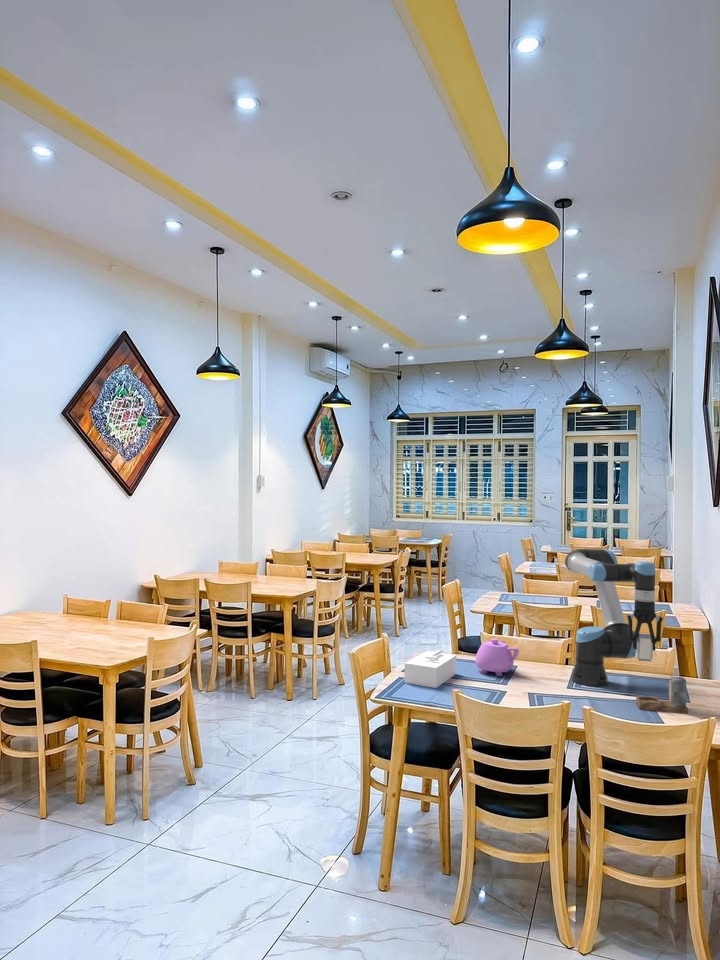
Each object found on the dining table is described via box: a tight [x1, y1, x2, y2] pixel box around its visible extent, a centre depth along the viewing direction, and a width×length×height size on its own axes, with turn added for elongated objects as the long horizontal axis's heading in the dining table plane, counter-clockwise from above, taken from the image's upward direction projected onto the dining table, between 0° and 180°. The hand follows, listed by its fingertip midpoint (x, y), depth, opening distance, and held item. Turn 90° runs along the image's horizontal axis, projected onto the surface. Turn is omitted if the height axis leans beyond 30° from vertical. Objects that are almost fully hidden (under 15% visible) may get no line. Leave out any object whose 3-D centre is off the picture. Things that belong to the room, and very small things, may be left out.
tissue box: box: [403, 649, 457, 689], centre depth 286 cm, size 14×25×11 cm, turn 152°
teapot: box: [475, 638, 520, 677], centre depth 299 cm, size 20×20×15 cm
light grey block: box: [637, 633, 652, 662], centre depth 262 cm, size 5×4×10 cm
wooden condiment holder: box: [635, 676, 689, 714], centre depth 251 cm, size 17×7×12 cm, turn 76°
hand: (644, 657), depth 263 cm, fingers closed on light grey block, 4 cm apart
